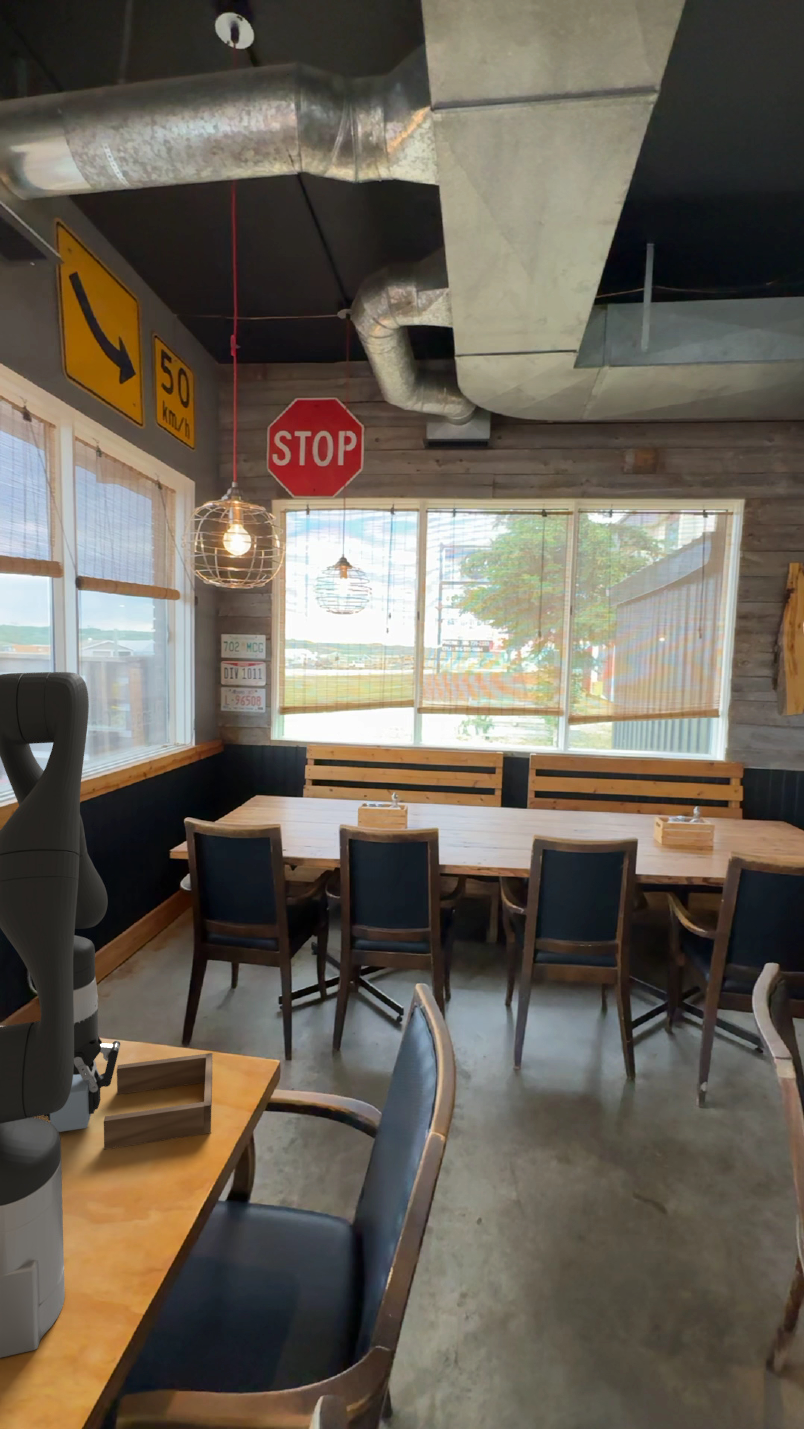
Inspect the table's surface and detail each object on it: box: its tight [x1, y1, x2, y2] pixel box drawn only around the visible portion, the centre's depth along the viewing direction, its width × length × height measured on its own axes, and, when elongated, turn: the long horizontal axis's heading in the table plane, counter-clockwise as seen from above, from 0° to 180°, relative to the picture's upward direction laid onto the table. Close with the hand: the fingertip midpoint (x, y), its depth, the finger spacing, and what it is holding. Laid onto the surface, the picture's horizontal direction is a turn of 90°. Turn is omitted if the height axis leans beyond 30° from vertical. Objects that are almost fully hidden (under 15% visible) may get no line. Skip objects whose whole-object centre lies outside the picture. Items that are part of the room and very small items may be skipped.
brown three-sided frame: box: [103, 1052, 213, 1150], centre depth 103 cm, size 13×15×4 cm
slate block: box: [49, 1074, 92, 1133], centre depth 100 cm, size 5×5×6 cm
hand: (72, 1112), depth 100 cm, fingers closed on slate block, 5 cm apart
